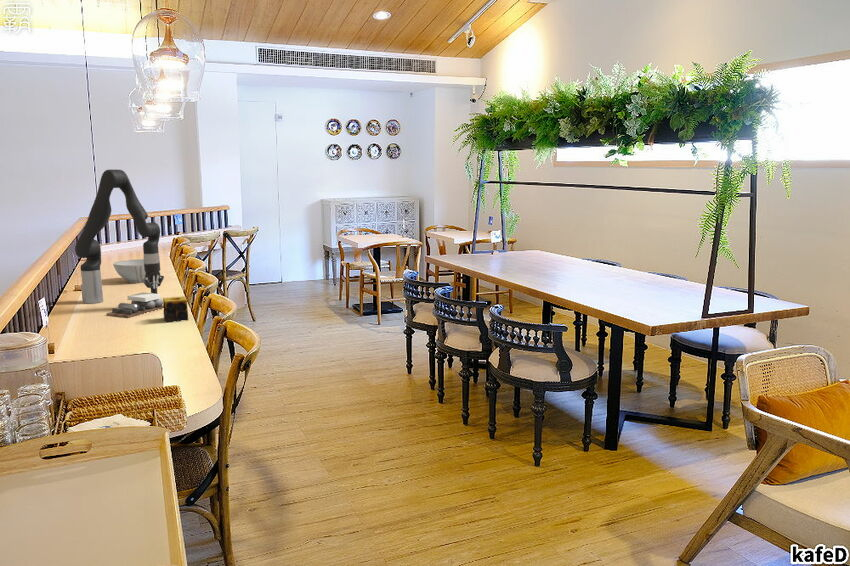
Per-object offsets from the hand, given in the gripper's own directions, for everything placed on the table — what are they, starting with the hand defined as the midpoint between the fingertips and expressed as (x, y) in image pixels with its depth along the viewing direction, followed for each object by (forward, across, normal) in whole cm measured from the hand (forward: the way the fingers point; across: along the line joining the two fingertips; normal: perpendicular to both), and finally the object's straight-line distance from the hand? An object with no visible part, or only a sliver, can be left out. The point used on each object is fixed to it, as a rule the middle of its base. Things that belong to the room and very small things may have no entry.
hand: (154, 295), depth 333 cm
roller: (+5, +17, 0) cm, 17 cm away
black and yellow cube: (+6, +17, +30) cm, 35 cm away
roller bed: (+6, +12, 0) cm, 13 cm away
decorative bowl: (+6, -53, -68) cm, 86 cm away
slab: (+1, +7, 0) cm, 7 cm away
